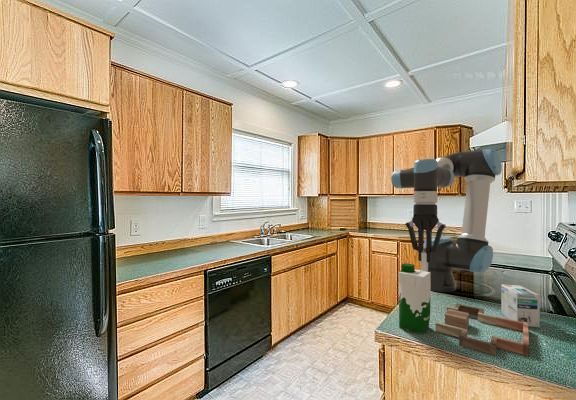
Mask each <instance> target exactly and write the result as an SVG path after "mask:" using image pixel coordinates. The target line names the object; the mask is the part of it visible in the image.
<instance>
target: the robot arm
mask: <svg viewBox="0 0 576 400" xmlns="http://www.w3.org/2000/svg"><path fill="white" fill-rule="evenodd" d="M502 166H503V165H502V160H501V156H500V153H499V152H498V151H497V150H496V149H494V148H487V149H486V148H483V149H475V150H469V151H460V152H459V151H458V152H454V153H450V154H447V155H444V156H442V157H438V158H436V159H435V158H424V159H423V158H422V159H417V160H415V161H414V163H413V167H411V168H407V169H406V168H405V169H399V170H394V171H393V172H392V174H391V177H390V181H391V182H390V183H391V184H392V185H391V186H393V187H394V188H396V189H413V203H415V204H414V205H413V216H412V218H411V220H410V221H408V222H405V224H404V225H405V226H406V228H407V230H408V234H409V238H410V243H411V245H412V246H411V247H412V250H414V251H417V252H418V255H417V256H418V257H417V258H418V259H417V260H418V262H421V265H420V270H422V271H426V272H431V273H430V282H431V291H432V292H439V293H453V292H455V291H457V283H456V281H455V280H456V279H455V277H454V275H453V269H457V270H462V271H463V270H464V271H468V272H472V273H482V274H483V273H485V272H487V271H488V270H489V269H490V267H491V265H492V261H493V257H494V248H493V246H491V245H489V240H487V239H486V228H487V220H488V219H487V218H488V217H487V216H488V208H489V201H490V199H489V198H490V190H491V189H490V188H491V184H492V183H494V181H495V180H496V176H500V175H501V173H502V169H503V167H502ZM455 177H458V178H459V177H460V178H461V177H463V179H464V180H465V181H466V193H465V201H464V210H463V218H462V227H461V234H460V235H459V236H457V237H456V241H453V238H452V237H442V236H443V232H444V230H445V228H446V227H447V226H446V224H445V223H444V224H443V223H442V222H440V219H439V218H438V205H437V204H436V203H438V188H440V189H441V188H442V189H443V188H448V187H451V186H452V185H453V183H454V182H455ZM414 227H416V229H417V235H418V237H416V232H415V229H414ZM436 227H437V231H436V233H435V237H432V236H433V235H432V234H433V230H434V229H435V228H436ZM424 233H425V234H426V236H425V234H424ZM424 236H425V237H424ZM417 238H418V239H417ZM424 238H426V239H424ZM417 240H418V241H417Z"/></svg>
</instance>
